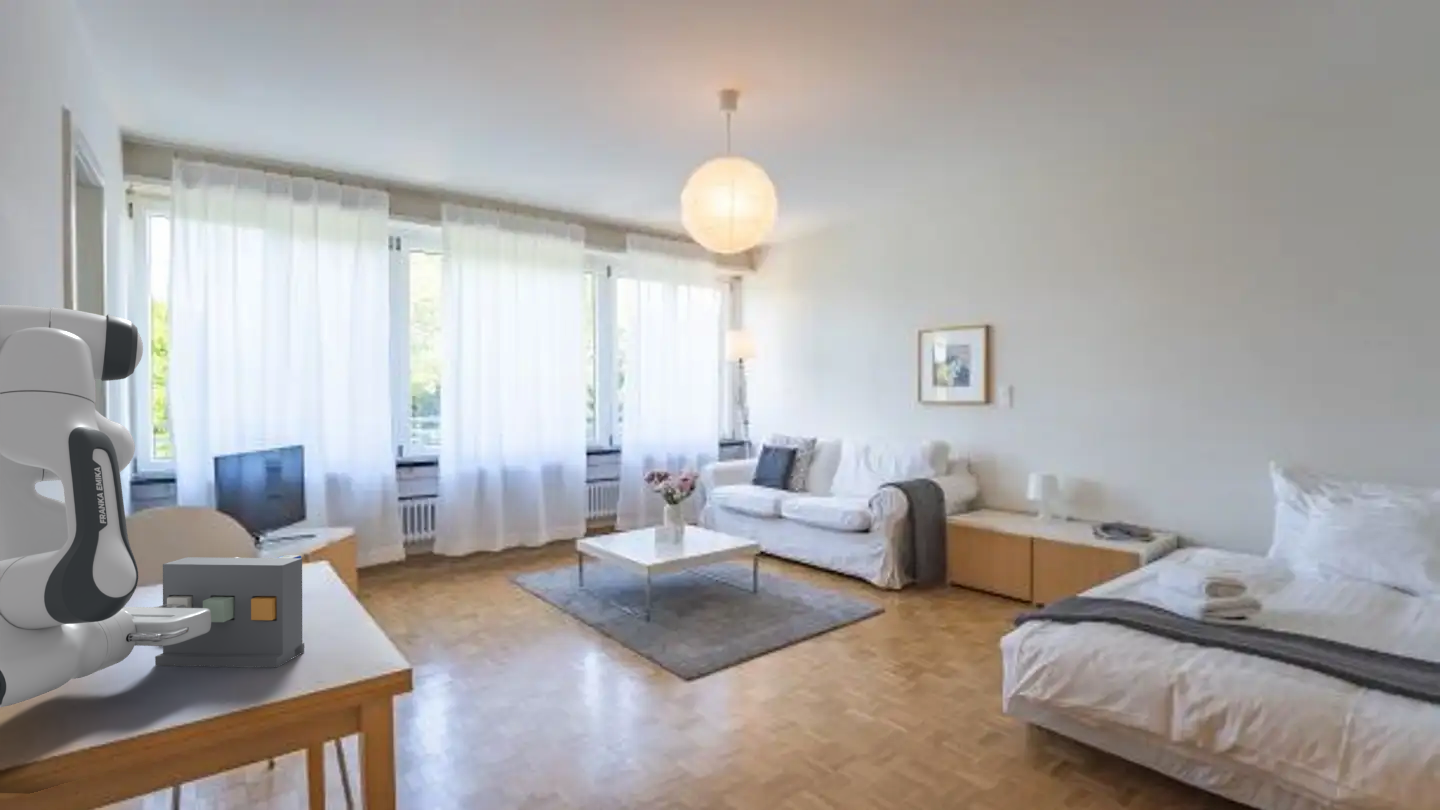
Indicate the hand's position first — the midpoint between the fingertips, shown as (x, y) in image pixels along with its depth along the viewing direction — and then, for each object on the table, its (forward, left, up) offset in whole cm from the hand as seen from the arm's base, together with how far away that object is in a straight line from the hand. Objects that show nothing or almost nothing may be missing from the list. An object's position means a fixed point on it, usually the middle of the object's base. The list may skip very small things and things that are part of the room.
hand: (176, 608), depth 113 cm
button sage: (+7, 0, -2) cm, 7 cm away
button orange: (+14, +2, -2) cm, 14 cm away
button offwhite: (0, +1, -2) cm, 2 cm away
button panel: (+7, +3, -9) cm, 12 cm away
